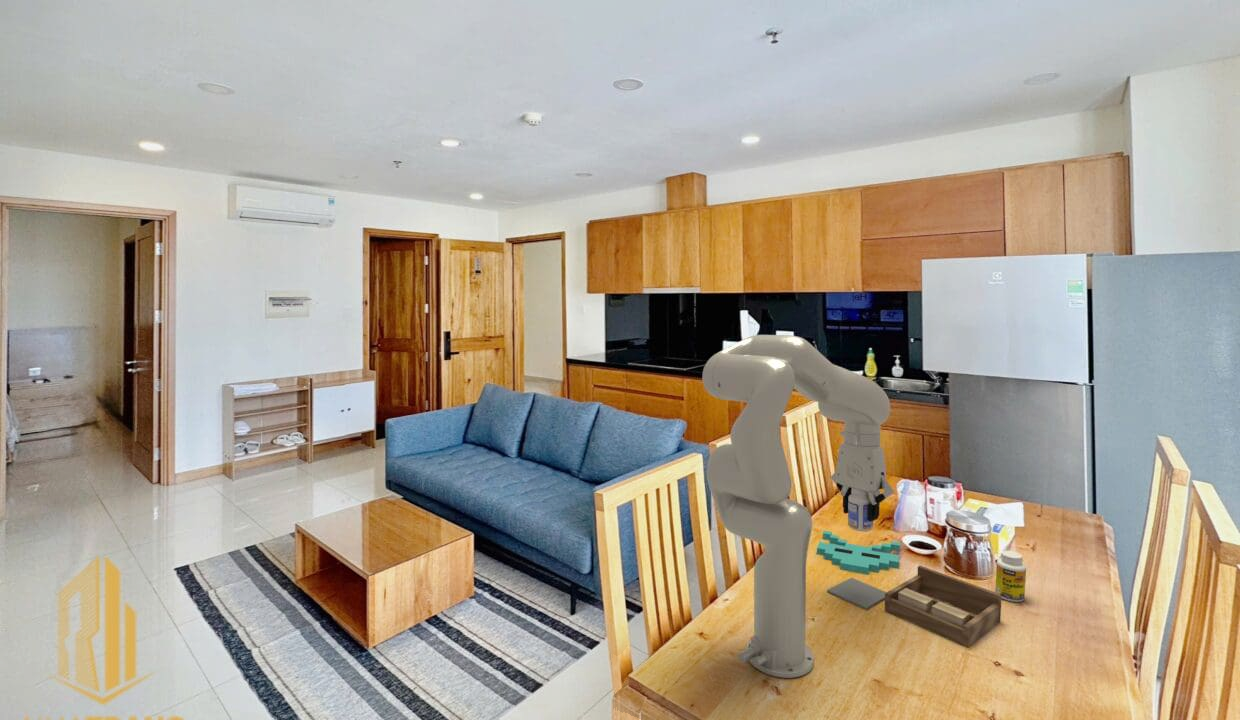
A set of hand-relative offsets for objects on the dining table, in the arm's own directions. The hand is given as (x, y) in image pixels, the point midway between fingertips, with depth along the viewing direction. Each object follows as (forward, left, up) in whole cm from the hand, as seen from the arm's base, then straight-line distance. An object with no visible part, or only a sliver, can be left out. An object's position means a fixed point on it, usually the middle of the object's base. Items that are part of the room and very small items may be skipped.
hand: (860, 515), depth 129 cm
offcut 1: (+2, -12, -19) cm, 23 cm away
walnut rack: (+6, -16, -19) cm, 25 cm away
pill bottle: (0, 0, -3) cm, 3 cm away
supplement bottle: (+26, -21, -19) cm, 39 cm away
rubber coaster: (0, 0, -19) cm, 19 cm away
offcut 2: (+2, -19, -19) cm, 27 cm away
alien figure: (+18, +12, -20) cm, 29 cm away
